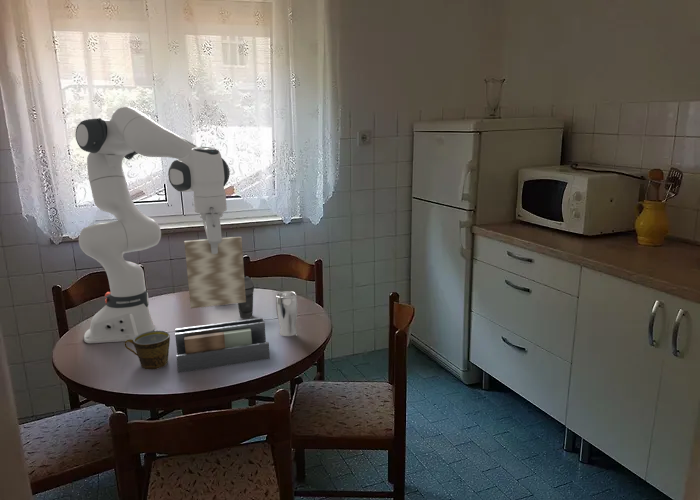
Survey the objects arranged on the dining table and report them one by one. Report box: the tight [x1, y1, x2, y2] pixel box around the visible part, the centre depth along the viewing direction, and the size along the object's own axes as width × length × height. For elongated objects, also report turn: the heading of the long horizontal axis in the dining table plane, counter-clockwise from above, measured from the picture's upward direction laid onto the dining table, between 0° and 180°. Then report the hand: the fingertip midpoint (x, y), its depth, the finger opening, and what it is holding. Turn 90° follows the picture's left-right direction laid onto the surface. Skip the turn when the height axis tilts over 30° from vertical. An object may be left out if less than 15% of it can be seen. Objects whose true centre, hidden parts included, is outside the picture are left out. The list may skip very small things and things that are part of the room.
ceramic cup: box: [124, 330, 171, 371], centre depth 152 cm, size 13×10×10 cm
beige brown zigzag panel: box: [183, 236, 246, 309], centre depth 153 cm, size 16×2×20 cm, turn 108°
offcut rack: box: [174, 317, 271, 373], centre depth 155 cm, size 26×11×10 cm, turn 108°
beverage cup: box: [237, 275, 255, 320], centre depth 191 cm, size 7×7×20 cm
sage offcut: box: [224, 328, 252, 348], centre depth 156 cm, size 9×2×8 cm, turn 108°
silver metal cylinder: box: [275, 290, 298, 338], centre depth 172 cm, size 7×7×15 cm
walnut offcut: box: [184, 332, 225, 354], centre depth 151 cm, size 11×2×9 cm, turn 108°
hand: (214, 252), depth 152 cm, fingers closed on beige brown zigzag panel, 1 cm apart
